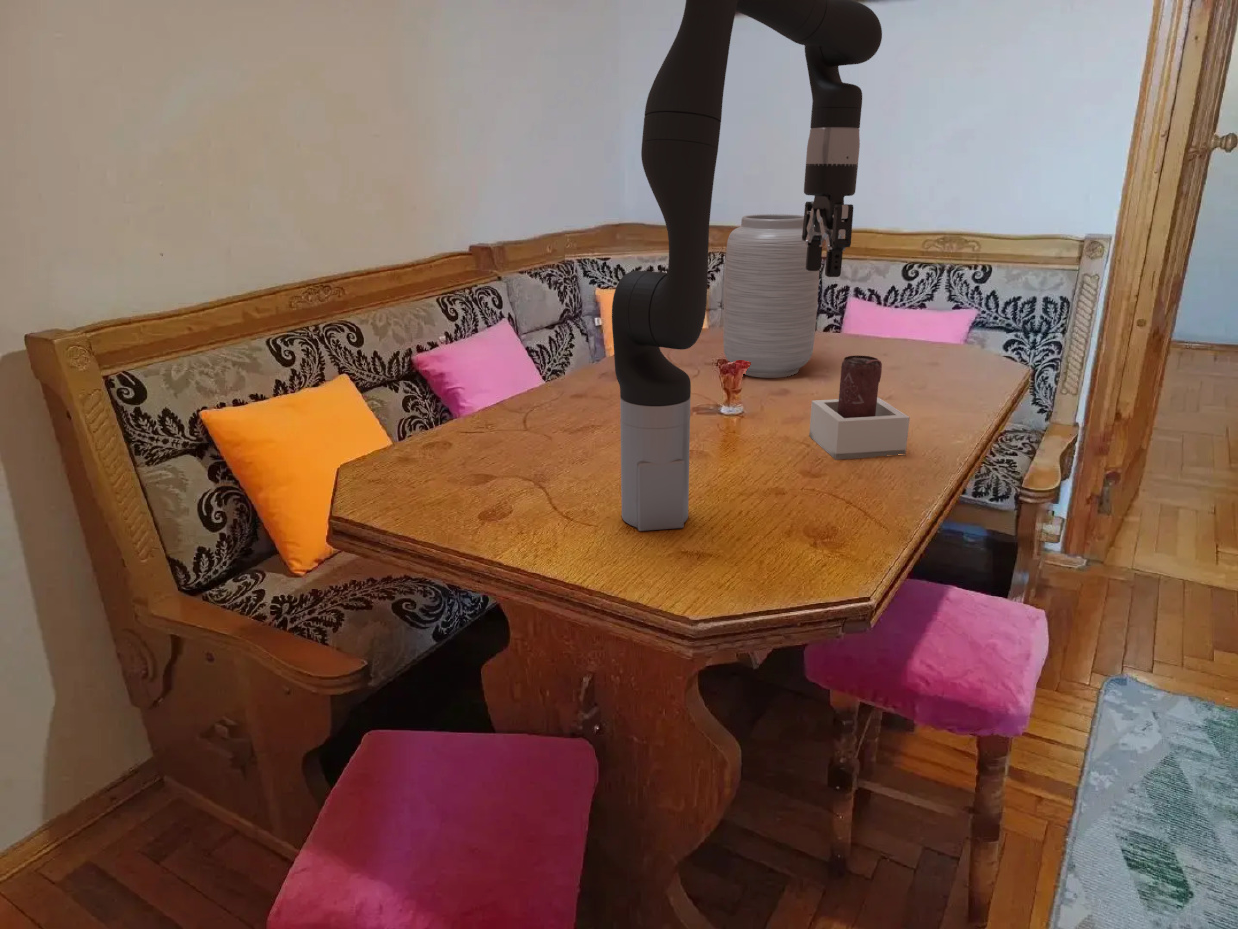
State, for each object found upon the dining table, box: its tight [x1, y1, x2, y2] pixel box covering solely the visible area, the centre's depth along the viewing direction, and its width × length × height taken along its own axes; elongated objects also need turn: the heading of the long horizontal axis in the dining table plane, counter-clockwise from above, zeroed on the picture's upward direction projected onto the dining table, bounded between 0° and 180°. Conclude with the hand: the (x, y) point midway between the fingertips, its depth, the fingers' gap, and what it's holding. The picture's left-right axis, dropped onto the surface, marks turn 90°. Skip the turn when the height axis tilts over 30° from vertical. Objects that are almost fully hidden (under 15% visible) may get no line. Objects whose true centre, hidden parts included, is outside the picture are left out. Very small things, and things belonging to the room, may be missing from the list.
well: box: [808, 396, 911, 461], centre depth 142 cm, size 12×12×6 cm
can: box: [838, 355, 883, 418], centre depth 141 cm, size 6×6×14 cm
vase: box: [722, 213, 821, 379], centre depth 186 cm, size 20×20×34 cm
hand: (822, 273), depth 130 cm, fingers open, 8 cm apart
